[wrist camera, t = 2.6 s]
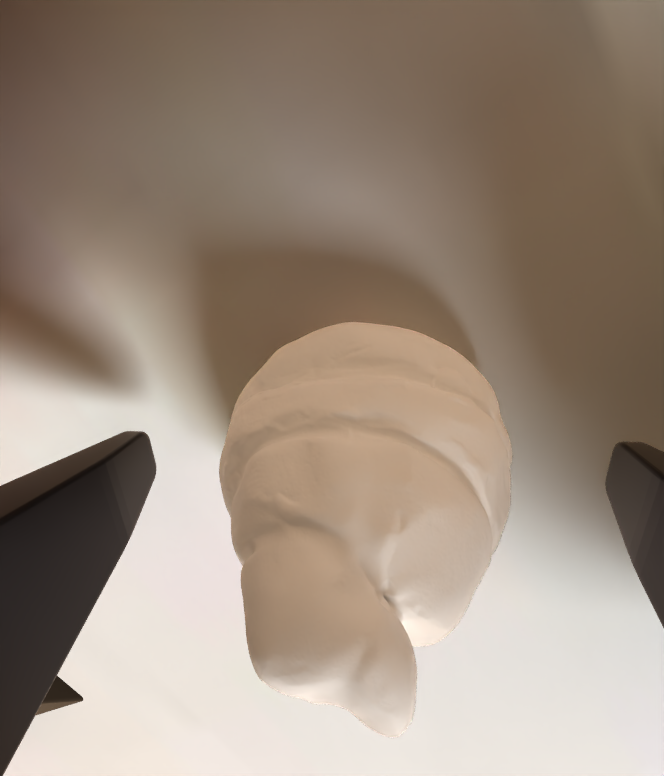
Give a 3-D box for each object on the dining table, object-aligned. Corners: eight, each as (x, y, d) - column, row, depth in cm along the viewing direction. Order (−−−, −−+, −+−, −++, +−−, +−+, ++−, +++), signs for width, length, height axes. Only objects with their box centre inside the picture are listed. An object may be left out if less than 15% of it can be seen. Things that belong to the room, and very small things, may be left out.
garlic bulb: (104, 763, 6) (100, 436, 4) (234, 486, 12) (267, 273, 9) (494, 860, 6) (734, 594, 4) (447, 539, 12) (537, 340, 9)
